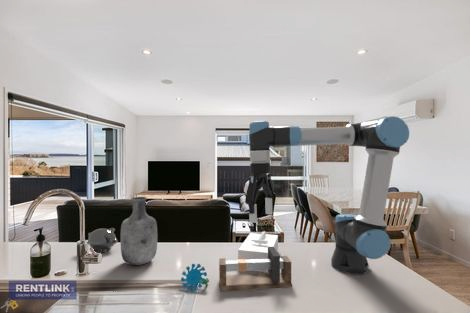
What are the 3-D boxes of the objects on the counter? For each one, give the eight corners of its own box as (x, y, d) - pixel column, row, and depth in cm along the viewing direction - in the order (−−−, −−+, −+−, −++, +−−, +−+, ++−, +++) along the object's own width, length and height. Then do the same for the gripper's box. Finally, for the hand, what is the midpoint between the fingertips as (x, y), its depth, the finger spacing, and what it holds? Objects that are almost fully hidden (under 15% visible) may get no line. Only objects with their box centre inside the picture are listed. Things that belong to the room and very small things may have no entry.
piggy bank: (111, 255, 132) (111, 232, 132) (82, 254, 133) (81, 232, 133) (122, 247, 144) (121, 226, 143) (94, 247, 144) (94, 225, 144)
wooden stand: (285, 275, 110) (285, 253, 110) (292, 287, 100) (292, 264, 100) (219, 278, 108) (219, 256, 108) (220, 291, 98) (219, 267, 98)
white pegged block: (238, 269, 116) (238, 244, 116) (250, 249, 140) (250, 228, 140) (271, 273, 112) (271, 247, 112) (277, 251, 137) (277, 230, 136)
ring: (273, 270, 110) (273, 246, 110) (279, 282, 100) (279, 256, 100) (267, 271, 110) (267, 246, 109) (273, 282, 100) (273, 256, 99)
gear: (175, 284, 99) (188, 259, 105) (180, 290, 103) (192, 265, 109) (201, 294, 95) (212, 267, 101) (205, 300, 99) (216, 273, 105)
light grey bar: (284, 265, 107) (284, 257, 107) (287, 269, 103) (287, 260, 103) (222, 268, 105) (222, 260, 104) (222, 272, 101) (222, 263, 101)
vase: (112, 267, 118) (111, 200, 118) (136, 254, 134) (135, 194, 133) (143, 272, 113) (142, 202, 113) (164, 257, 129) (163, 196, 128)
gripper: (265, 160, 114) (266, 210, 114) (234, 164, 93) (236, 224, 93) (281, 160, 110) (283, 212, 110) (253, 164, 89) (255, 227, 89)
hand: (261, 218), depth 102 cm, fingers open, 13 cm apart
